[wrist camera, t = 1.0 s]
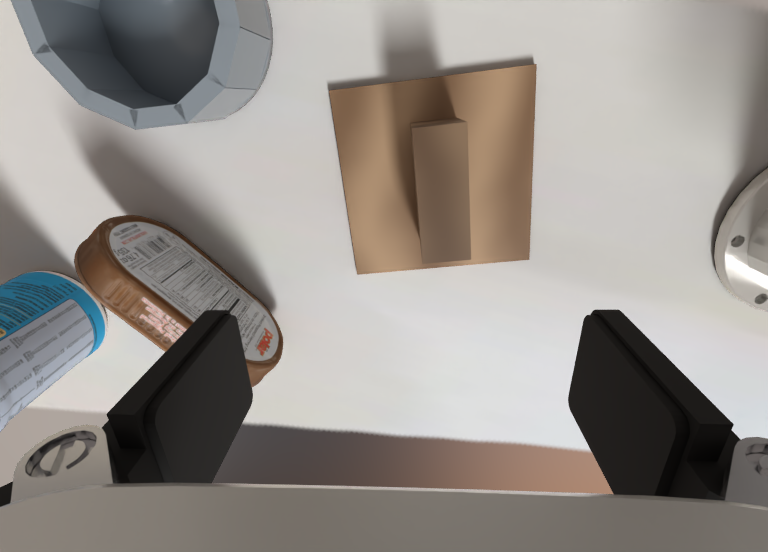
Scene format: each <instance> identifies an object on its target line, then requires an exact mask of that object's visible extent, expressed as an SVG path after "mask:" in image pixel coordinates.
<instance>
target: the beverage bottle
mask: <svg viewBox="0 0 768 552" xmlns="http://www.w3.org/2000/svg"><path fill="white" fill-rule="evenodd" d="M107 328H108V324H107V318H106V314H105V311H104V309H103V307H102V305H101V304H100V302H99V301H97V300H96V299H95V298H94V297H93V296H92V295H91V294H90V292H89V291H88V290H87V289H86V288H85V286H84V285H82V284H81V283H79V282H78V281H76V280H74V279H72V278H70V277H68V276H66V275H63V274H60V273H56V272H51V271H33V272H28V273H25V274H22V275H20V276H18V277H16V278H14V279H12V280H10V281H8V282H6V283H5V284H3V285H0V432H1V431H2V430H3V429H4V427H5V426H6V425H7V423H8V421H9V420H10V419H12V418H13V417H14V416H15V415H16V414H18V413H19V412H20V411H21V410H22V409H24V408H25V407H26V406H27V405H28V404H30V403H31V402H32V401H33V400H34V399H36V398H37V397H38V396H39V395H40V394H42V393H43V392H44V391H45V390H46V389H47V388H49V387H50V386H51V385H52V384H53V383H55V382H56V381H57V380H58V379H60V378H61V377H62V376H63V375H64V374H66V373H67V372H68V371H69V370H70V369H72V368H73V367H74V366H75V365H77V364H78V363H79V362H81V361H82V360H83V359H85V358H86V357H88V356H89V355H90V354H92V353H93V352H94V351H95V350H96V349H98V348H99V347H100V346H101V344H102V343H103V341H104V339H105V337H106V334H107Z"/></svg>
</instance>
